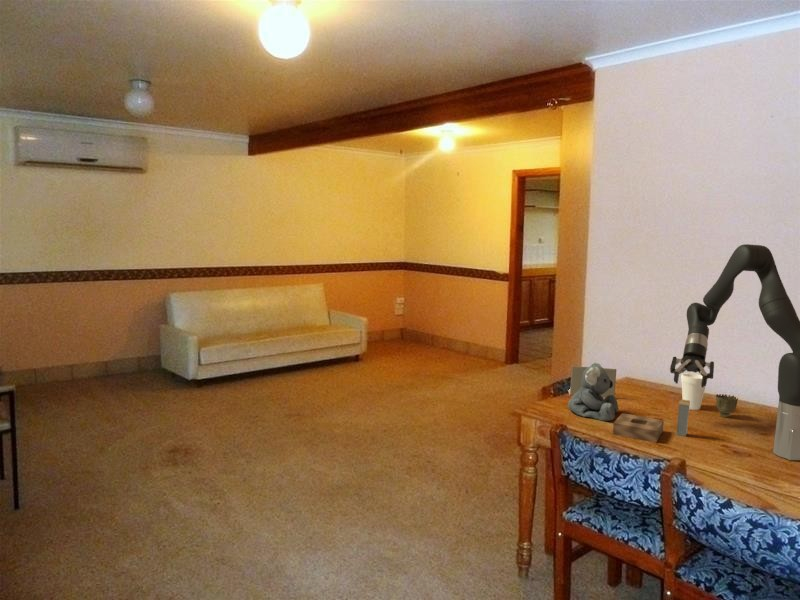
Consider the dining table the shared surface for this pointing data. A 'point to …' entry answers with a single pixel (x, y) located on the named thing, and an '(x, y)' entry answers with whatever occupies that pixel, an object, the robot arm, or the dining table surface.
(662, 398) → the dining table surface
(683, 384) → the foam cup
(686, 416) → the blue-grey rectangular block
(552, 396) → the dining table surface
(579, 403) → the koala plush
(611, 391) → the grey box
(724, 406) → the cup
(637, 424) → the flat wooden box
